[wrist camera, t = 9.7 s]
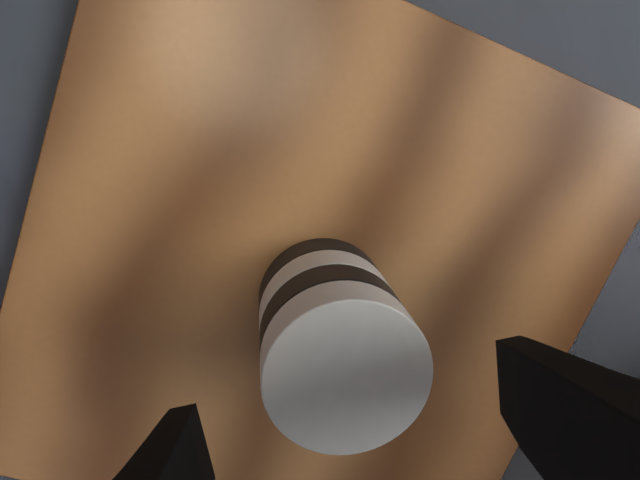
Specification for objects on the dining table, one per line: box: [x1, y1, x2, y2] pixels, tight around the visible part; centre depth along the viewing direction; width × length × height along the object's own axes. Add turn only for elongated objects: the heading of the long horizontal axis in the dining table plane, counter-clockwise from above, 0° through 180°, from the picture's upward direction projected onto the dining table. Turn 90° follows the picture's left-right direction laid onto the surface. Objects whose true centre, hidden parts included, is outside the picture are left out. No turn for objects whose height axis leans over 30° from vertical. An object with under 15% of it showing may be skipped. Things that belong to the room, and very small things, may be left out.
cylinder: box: [259, 238, 433, 455], centre depth 16 cm, size 4×4×6 cm
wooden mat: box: [0, 0, 640, 480], centre depth 18 cm, size 20×20×1 cm
